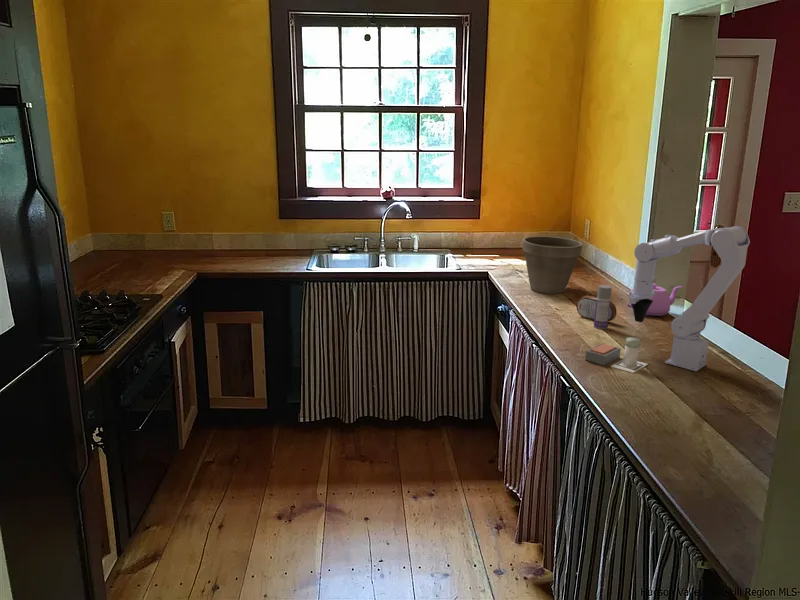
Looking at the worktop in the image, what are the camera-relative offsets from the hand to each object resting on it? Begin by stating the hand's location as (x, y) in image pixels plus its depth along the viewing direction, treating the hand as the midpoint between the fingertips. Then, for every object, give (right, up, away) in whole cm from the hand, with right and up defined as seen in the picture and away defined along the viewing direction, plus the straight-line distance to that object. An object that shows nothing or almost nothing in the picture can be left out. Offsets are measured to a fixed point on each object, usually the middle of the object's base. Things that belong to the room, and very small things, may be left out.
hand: (638, 321), depth 206 cm
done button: (-14, -10, -7) cm, 18 cm away
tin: (-4, -1, +33) cm, 33 cm away
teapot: (+21, +2, +43) cm, 48 cm away
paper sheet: (-7, -13, -12) cm, 19 cm away
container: (-5, -3, +24) cm, 25 cm away
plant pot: (-12, +11, +74) cm, 76 cm away
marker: (-7, -13, -12) cm, 19 cm away
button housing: (-14, -11, -7) cm, 19 cm away
